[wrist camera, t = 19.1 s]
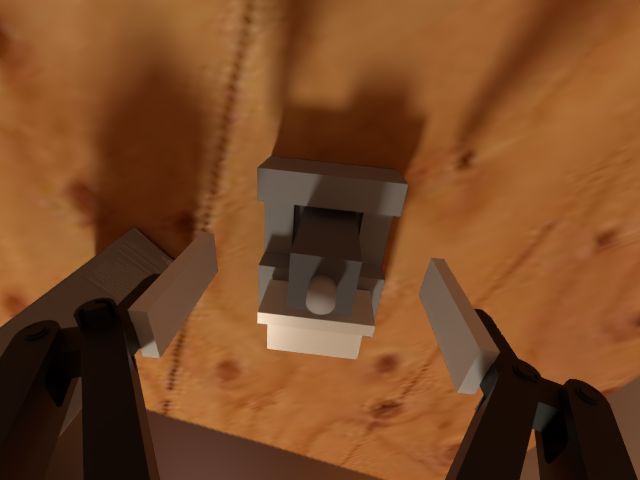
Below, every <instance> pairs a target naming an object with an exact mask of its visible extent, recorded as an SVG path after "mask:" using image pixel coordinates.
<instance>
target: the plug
mask: <svg viewBox="0 0 640 480" xmlns="http://www.w3.org/2000/svg"><path fill="white" fill-rule="evenodd" d="M361 265H362V257H361V249H360V241H359V233H358V225H357V218H356V212H354V211H345V210H336V209H328V208H319V207H310V206H305V209H304V212H303V215H302V218H301V221H300V224H299V228H298V231H297V234H296V237H295V240H294V243H293V246H292V249H291V253H290V266H289V281H288V296H287V308H291V309H298V310H306V311H311V312H313V313H315V314H319V315H324V314H328V313H329V314H337V315H345V316H351V312H352V307H353V303H354V298H355V293H356V289H357V284H358V279H359V275H360V270H361Z"/></svg>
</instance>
